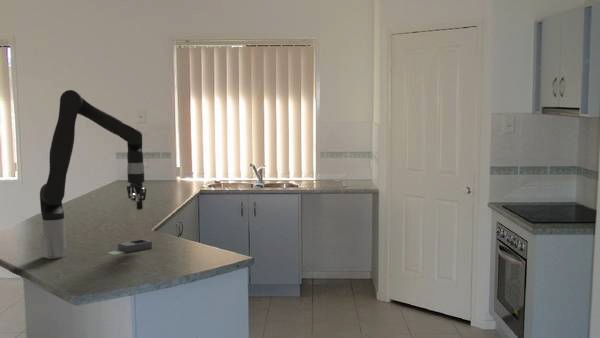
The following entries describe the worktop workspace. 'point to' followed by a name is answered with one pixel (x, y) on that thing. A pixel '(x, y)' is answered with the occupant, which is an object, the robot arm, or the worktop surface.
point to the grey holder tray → (134, 245)
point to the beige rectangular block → (136, 209)
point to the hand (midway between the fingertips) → (137, 208)
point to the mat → (116, 252)
